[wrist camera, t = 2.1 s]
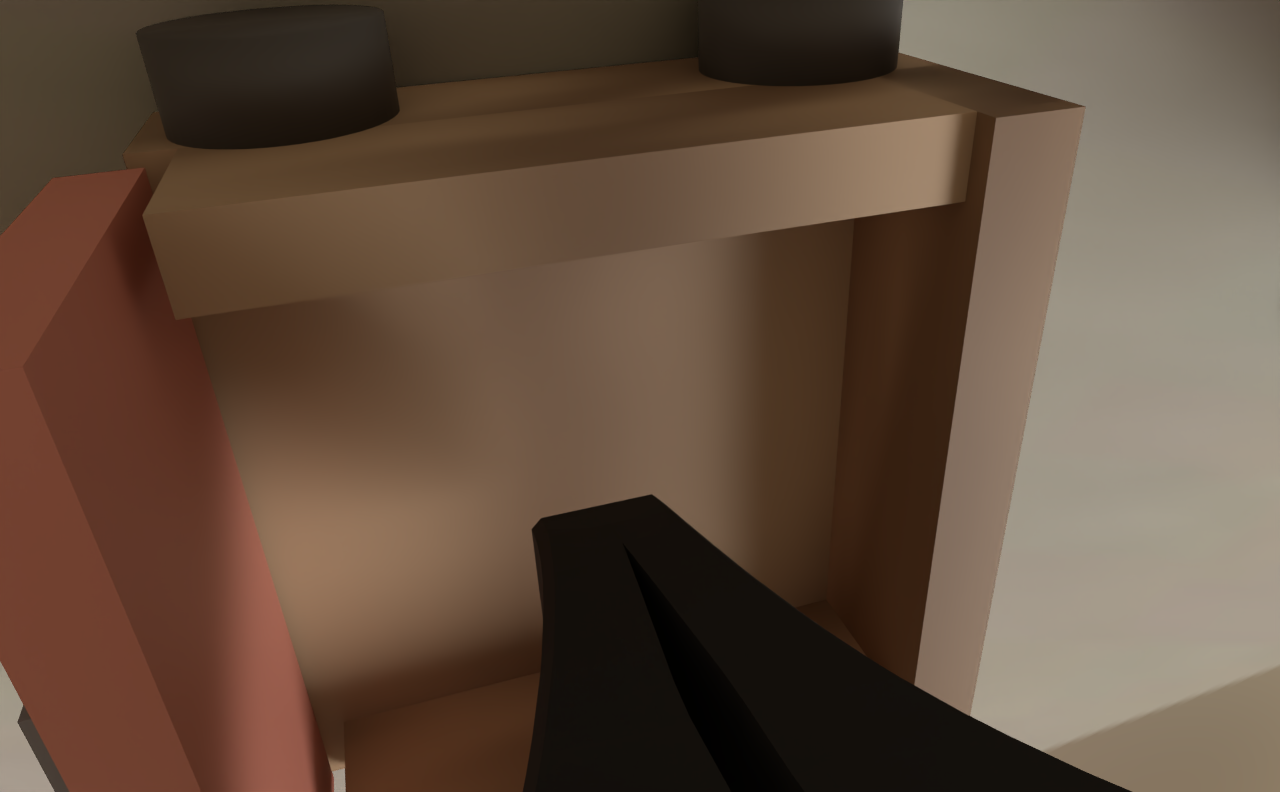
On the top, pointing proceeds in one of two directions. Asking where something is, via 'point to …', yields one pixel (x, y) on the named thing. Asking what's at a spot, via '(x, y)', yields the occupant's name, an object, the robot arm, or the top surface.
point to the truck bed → (602, 337)
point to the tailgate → (130, 525)
